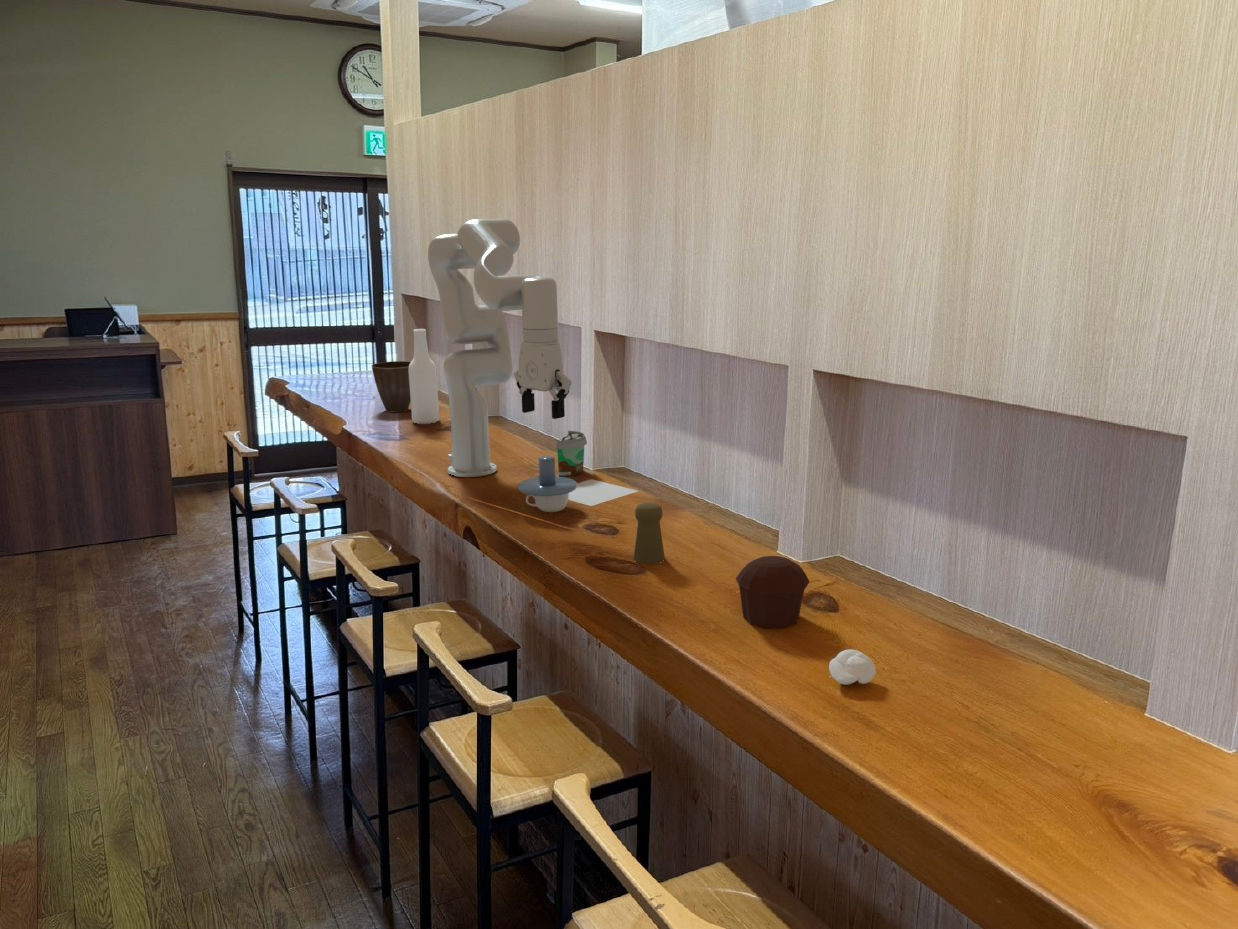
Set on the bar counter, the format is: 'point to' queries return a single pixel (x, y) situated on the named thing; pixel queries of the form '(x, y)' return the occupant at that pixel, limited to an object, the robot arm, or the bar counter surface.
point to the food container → (571, 454)
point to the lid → (547, 481)
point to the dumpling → (852, 667)
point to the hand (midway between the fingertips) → (543, 414)
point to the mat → (597, 492)
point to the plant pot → (393, 384)
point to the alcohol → (423, 382)
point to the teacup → (550, 502)
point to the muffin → (772, 591)
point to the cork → (649, 534)
